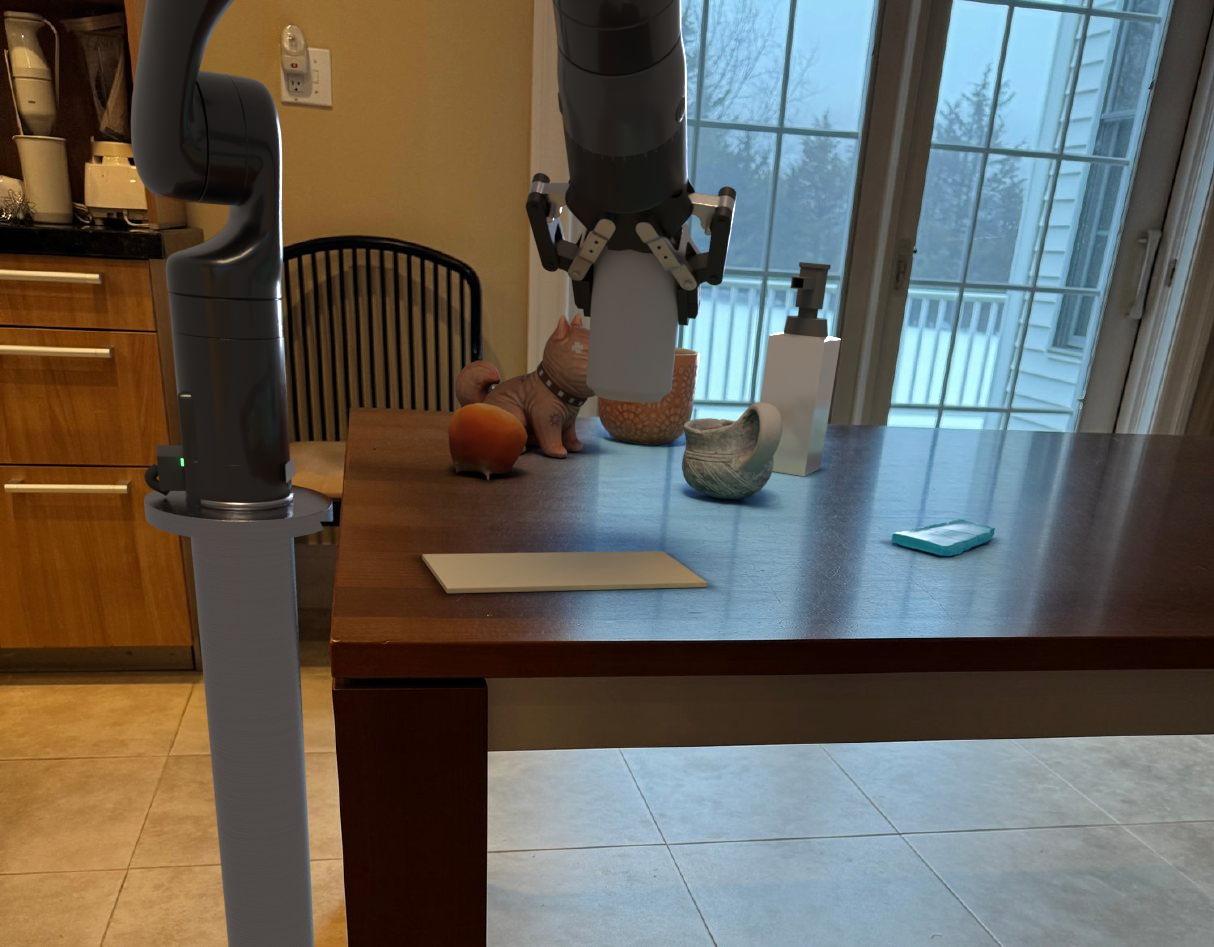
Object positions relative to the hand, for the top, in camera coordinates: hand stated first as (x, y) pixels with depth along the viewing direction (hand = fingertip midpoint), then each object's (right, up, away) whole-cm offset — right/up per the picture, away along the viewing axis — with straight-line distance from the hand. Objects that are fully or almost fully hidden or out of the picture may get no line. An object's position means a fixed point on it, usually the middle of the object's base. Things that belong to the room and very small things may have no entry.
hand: (637, 311), depth 83 cm
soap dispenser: (+19, +3, +50) cm, 54 cm away
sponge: (+30, -12, +22) cm, 39 cm away
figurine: (-11, +5, +49) cm, 51 cm away
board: (-6, -19, +3) cm, 20 cm away
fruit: (-15, -2, +35) cm, 38 cm away
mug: (+11, -5, +32) cm, 35 cm away
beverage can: (-1, -6, +1) cm, 6 cm away
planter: (+2, +10, +62) cm, 62 cm away
